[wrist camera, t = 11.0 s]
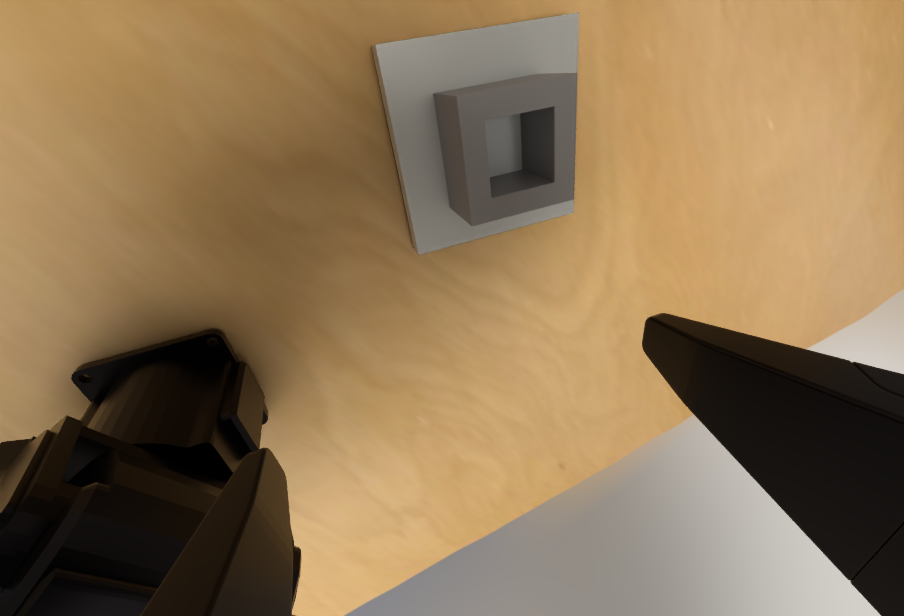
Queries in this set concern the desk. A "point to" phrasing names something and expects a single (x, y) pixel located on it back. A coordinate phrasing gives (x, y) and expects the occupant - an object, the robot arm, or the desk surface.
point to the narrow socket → (482, 127)
